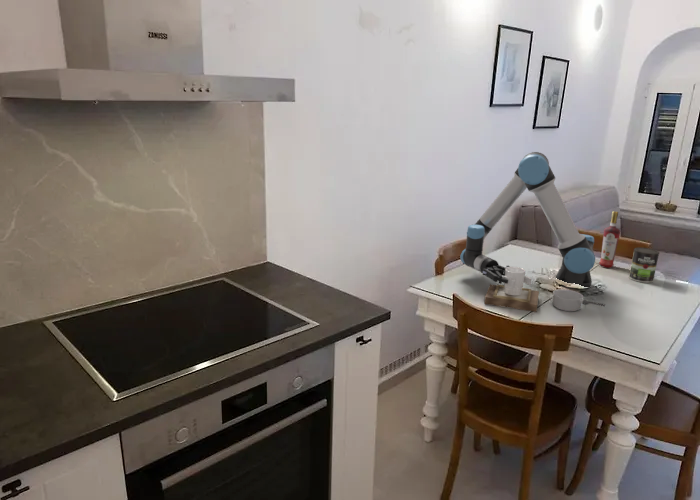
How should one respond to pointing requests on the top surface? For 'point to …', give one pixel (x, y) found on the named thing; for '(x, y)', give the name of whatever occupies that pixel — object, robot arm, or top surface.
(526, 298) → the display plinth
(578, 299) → the saucepan
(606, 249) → the liquor
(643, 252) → the coffee can
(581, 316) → the top surface
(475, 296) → the top surface
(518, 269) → the white cup
